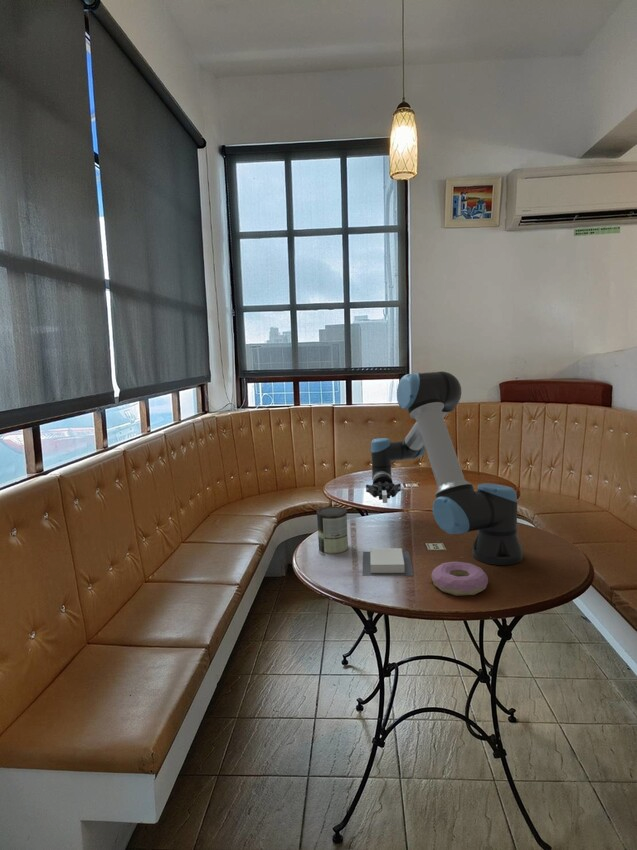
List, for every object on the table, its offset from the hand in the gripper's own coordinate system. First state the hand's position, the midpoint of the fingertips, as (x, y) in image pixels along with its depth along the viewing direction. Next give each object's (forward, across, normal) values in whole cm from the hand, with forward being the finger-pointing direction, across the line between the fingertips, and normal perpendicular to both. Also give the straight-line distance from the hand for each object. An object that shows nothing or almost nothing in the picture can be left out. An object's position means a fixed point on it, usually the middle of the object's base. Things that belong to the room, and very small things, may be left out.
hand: (384, 499), depth 168 cm
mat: (+11, +1, -18) cm, 22 cm away
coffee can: (-2, +18, -18) cm, 26 cm away
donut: (+26, -19, -19) cm, 38 cm away
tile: (+6, 0, -16) cm, 17 cm away
